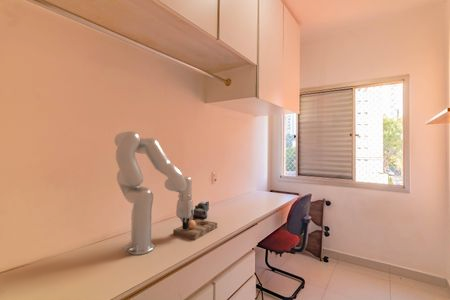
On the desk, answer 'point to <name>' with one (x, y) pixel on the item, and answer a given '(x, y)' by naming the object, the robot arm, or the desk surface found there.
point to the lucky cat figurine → (201, 209)
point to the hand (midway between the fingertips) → (185, 228)
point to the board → (195, 229)
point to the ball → (191, 224)
